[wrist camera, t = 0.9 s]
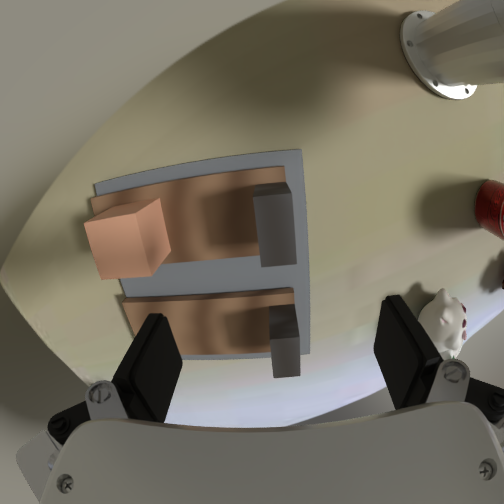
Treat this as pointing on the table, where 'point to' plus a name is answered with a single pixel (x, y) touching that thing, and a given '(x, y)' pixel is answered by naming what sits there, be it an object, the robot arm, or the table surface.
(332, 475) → the robot arm
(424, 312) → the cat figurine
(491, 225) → the soda can
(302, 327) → the slate base
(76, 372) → the table surface
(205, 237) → the strip
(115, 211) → the cube
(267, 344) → the strip
